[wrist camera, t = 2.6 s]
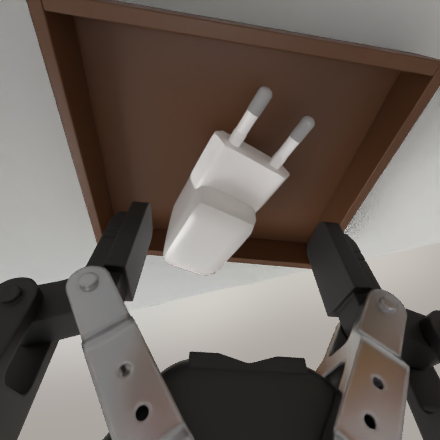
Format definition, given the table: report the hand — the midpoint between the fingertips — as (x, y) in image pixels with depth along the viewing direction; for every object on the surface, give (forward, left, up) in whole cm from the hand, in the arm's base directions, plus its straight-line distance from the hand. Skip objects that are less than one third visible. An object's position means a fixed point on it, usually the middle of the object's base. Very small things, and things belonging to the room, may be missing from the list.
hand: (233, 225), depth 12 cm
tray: (0, 0, -7) cm, 7 cm away
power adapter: (0, 0, -7) cm, 7 cm away
